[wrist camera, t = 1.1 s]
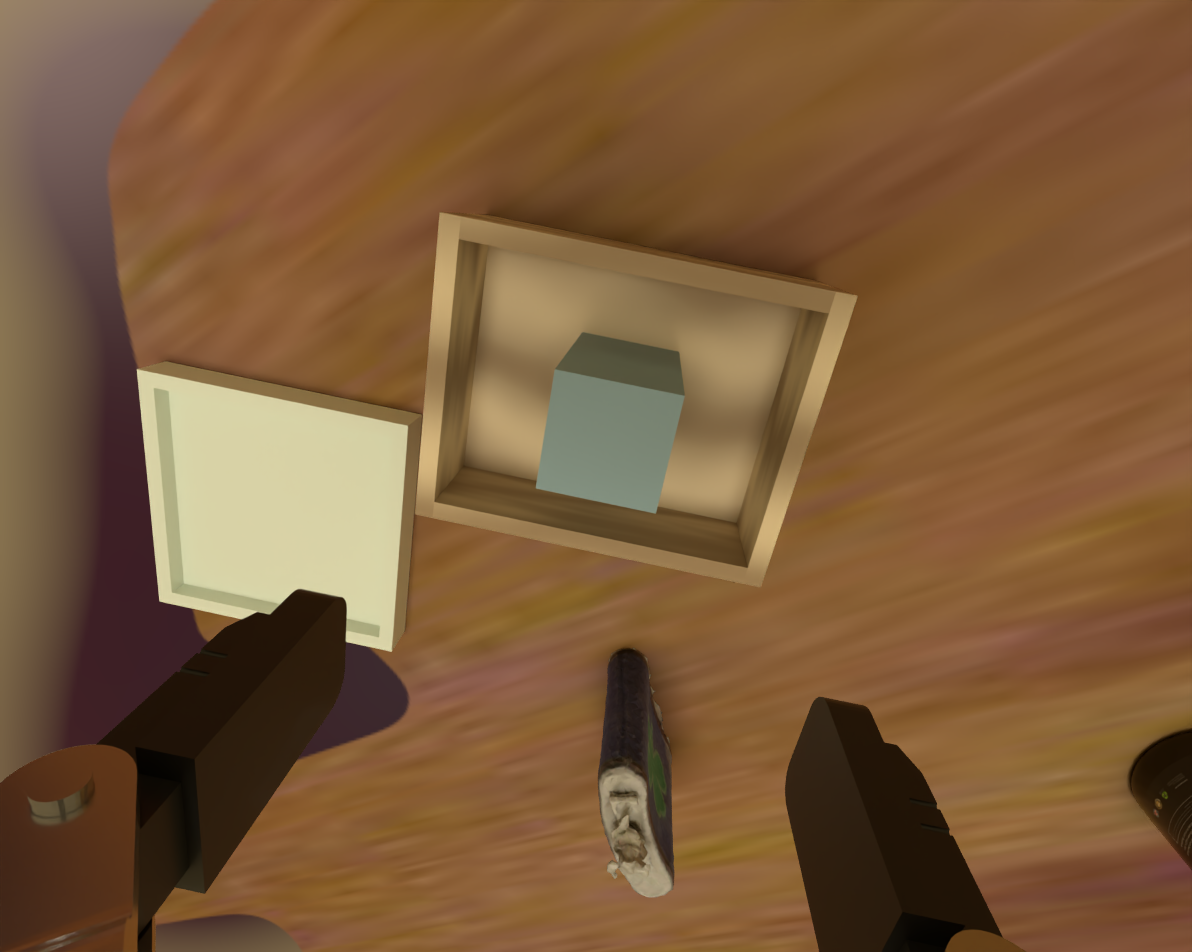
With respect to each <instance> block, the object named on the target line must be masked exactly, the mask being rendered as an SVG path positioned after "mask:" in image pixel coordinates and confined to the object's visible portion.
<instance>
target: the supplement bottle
mask: <svg viewBox="0 0 1192 952" xmlns="http://www.w3.org/2000/svg"><path fill="white" fill-rule="evenodd" d="M1131 787H1132V792H1133V795H1134V797H1135V799H1136V801H1137V803H1138V804H1139V806H1140V807H1141V808H1142V810H1143V811H1144V812H1145V813H1146V815H1147V816H1148V817H1149V818H1150V820H1151V821H1152V822H1153V824H1154V825H1155V826H1156V827H1157V828H1158V830H1159V831H1160V832H1161V833H1162V835H1163V836H1164V837H1165V838H1166V839H1167V841H1168V842H1169V843H1170V844H1171V846H1172V847H1173V848H1174V849H1175V850H1176V852H1177V853H1178V854H1179V855H1180V857H1181V858H1182V859H1183V860H1184V861H1185V863H1186V864H1187V865H1188V866H1189V868H1190V869H1191V870H1192V732H1187V733H1183V734H1179V735H1176V736H1173V737H1170V738H1168V739H1166V740H1164V741H1162V742H1160V743H1158V744H1156V745H1155V746H1153V747H1152V748H1151V749H1149V750H1148V751H1147V752H1146V753H1145V754H1144V755H1143V756H1142V757H1141V758H1140V760H1139V761H1138V762H1137V764H1136V766H1135V768H1134V770H1133V774H1132V779H1131Z"/></svg>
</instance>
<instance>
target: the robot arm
mask: <svg viewBox="0 0 1192 952" xmlns="http://www.w3.org/2000/svg"><path fill="white" fill-rule="evenodd" d="M346 622H347V604H346V601H345V599H344V598H343V597H338V596H333V595H328V594H323V593H319V592H314V591H309V590H304V589H297V590H295V591H294V592H292V593H291V594H290V595H289V596H288V597H287V598H286V599H285V600H284V601H283V602H282V603H281V604H280V605H279V606H278V607H277V608H276V609H275V610H274V611H273V612H272V613H271V614H265V613H260V612H256V613H254V614H252V615H250V616H248V617H246V618H244V619H242V620H239V621H237V622H235V623H233V624H231V625H229V626H227V627H225V628H224V629H223V630H222V631H221V632H220V633H218V634H217V635H216V636H215V637H214V638H213V639H212V640H211V641H210V642H208V643H207V644H206V645H205V646H204V647H203V648H202V650H201V652H200V654H198V653H197V654H195V655H194V656H193V657H192V658H191V659H190V660H189V661H188V662H186V663H185V664H184V665H183V666H182V667H181V671H180V672H175V673H174V674H173V675H172V676H171V677H170V678H169V679H168V680H167V681H166V682H164V683H163V684H162V685H161V686H160V687H159V688H158V689H157V690H156V691H155V692H153V693H152V694H151V695H150V696H149V697H148V698H147V699H146V700H145V701H144V702H142V704H140V705H139V706H138V707H137V708H136V709H135V710H134V711H133V712H131V713H130V714H129V715H128V716H127V717H126V718H125V719H124V720H123V721H121V722H120V723H119V724H118V725H117V726H116V727H115V728H114V729H113V730H112V731H110V732H109V733H108V734H107V735H106V736H105V737H104V738H103V739H102V740H100V741H99V742H98V743H97V744H96V745H81V746H76V747H70V748H66V749H62V750H59V751H55V752H53V753H50V754H47V755H44V756H42V757H40V758H38V759H36V760H33V761H31V762H29V763H28V764H26V765H24V766H22V767H21V768H19V769H17V770H16V771H15V772H13V773H12V774H10V775H9V776H8V777H6V778H5V779H4V780H3V781H2V782H1V783H0V952H155V940H156V936H155V935H156V934H155V932H156V931H155V930H156V929H155V927H156V923H155V915H154V914H155V913H156V912H157V910H158V909H159V908H160V906H161V905H162V904H163V902H164V901H165V900H166V898H167V897H168V895H169V894H170V893H171V891H172V890H173V889H174V887H176V888H181V889H186V890H190V891H195V892H200V893H204V894H205V893H206V891H207V890H208V888H209V887H210V886H211V884H212V883H213V881H214V880H215V878H216V877H217V875H218V874H219V872H220V871H221V870H222V868H223V867H224V865H225V864H226V862H227V861H228V859H229V858H230V856H231V855H232V853H233V852H234V851H235V849H236V848H237V846H238V845H239V843H240V842H241V840H242V839H243V837H244V836H245V835H246V833H247V832H248V830H249V829H250V827H251V826H252V824H253V823H254V821H255V820H256V819H257V817H258V816H259V814H260V813H261V811H262V810H263V808H264V807H265V805H266V804H267V803H268V801H269V800H270V798H271V797H272V795H273V794H274V792H275V791H276V789H277V788H278V787H279V785H280V784H281V782H282V781H283V779H284V778H285V776H286V775H287V773H288V772H289V771H290V769H291V768H292V766H293V765H294V763H295V762H296V760H297V759H298V757H299V755H301V753H302V752H303V750H304V749H305V747H306V746H307V744H308V743H309V741H310V740H311V739H312V737H313V736H314V734H315V733H316V731H317V730H318V728H319V727H320V725H321V724H322V723H323V721H324V720H325V718H326V717H327V715H328V714H329V712H330V711H331V709H332V708H333V706H334V704H335V702H336V699H337V698H338V695H339V693H340V690H341V686H342V683H343V679H344V672H345V648H346ZM785 797H786V806H787V810H788V815H789V819H790V824H791V828H792V833H793V837H794V841H795V846H796V850H797V855H798V859H799V864H800V868H801V872H802V877H803V881H804V886H805V890H806V895H807V899H808V903H809V908H810V912H811V917H812V921H813V926H814V930H815V934H816V939H817V943H818V948H819V952H1026V951H1024V950H1023V949H1021V948H1020V947H1018V946H1017V945H1015V944H1014V943H1012V942H1010V941H1008V940H1006V939H1004V938H1003V937H1002V935H1001V933H1000V931H999V929H998V927H997V925H996V922H995V920H994V918H993V916H992V914H991V912H990V910H989V908H988V906H987V904H986V902H985V900H984V898H983V896H982V894H981V892H980V890H979V888H978V886H977V884H976V882H975V880H974V878H973V876H972V874H971V872H970V870H969V868H968V866H967V863H966V861H965V859H964V857H963V855H962V853H961V851H960V849H959V847H958V845H957V843H956V841H955V839H954V837H953V836H951V835H950V834H949V830H950V829H949V827H948V825H947V823H946V821H945V819H944V817H943V815H942V813H941V811H940V810H939V809H937V802H936V800H935V798H934V796H933V794H932V792H931V790H930V788H929V786H928V784H927V782H926V780H925V778H924V776H923V774H922V773H921V772H920V770H919V769H918V768H917V767H916V766H915V765H914V764H913V763H912V762H911V760H910V759H909V758H908V757H907V756H906V755H905V754H904V753H903V751H902V750H901V749H900V748H899V747H898V746H897V745H894V744H889V743H884V741H883V739H882V737H881V734H880V732H879V730H878V728H877V725H876V723H875V721H874V719H873V716H872V714H871V712H870V710H869V709H868V708H867V707H866V706H863V705H858V704H853V703H849V702H844V701H839V700H834V699H829V698H824V697H818V698H816V699H815V700H814V702H813V704H812V706H811V708H810V711H809V713H808V716H807V719H806V721H805V724H804V726H803V729H802V732H801V734H800V737H799V739H798V742H797V745H796V747H795V750H794V753H793V755H792V758H791V760H790V763H789V766H788V770H787V775H786V785H785Z"/></svg>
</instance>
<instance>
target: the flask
mask: <svg viewBox="0 0 1192 952" xmlns="http://www.w3.org/2000/svg"><path fill="white" fill-rule="evenodd" d="M650 676H651V675H650V673H649V666H648V663H647V658H646V657H645V656H644V655H643V654H642V653H640V652H639V651H637V650H636V649H635V648H632V649H631V648H630V649H621V650H620V649H619V650H617V651H615V652H614V653H612V654H611V657H610V658H609V665H608V685H607V697H606V709H605V718H604V726H603V739H602V749H601V758H600V765H599V771H598V790H599V801H600V814H601V818H602V824H603V826H604V829H605V835H606V837H607V840H608V843H609V845H610V848H611V850H612V852H613V854H614V857H615V859H616V861H617V862H618V863H616V862H614V861H613V860H611V861H610V862H609V863H608V865H607V871H608V872H609V873H611V874H612V876H613V877H614V879H615V878H616V877H617V874H616V873H615V871H616V869H617V868H619V870H620V871H621V872H622V873H623V874H624V875H625V877H626V879H627V880H628V882H629V883H630V884H631V886H632V888H633V889H634V890H635V891H636V892H637V893H638V894H640V895H643V896H646V897H659V896H661V895H666V894H667V893H668V892H669V891H671V890H673V885H674V865H673V861H674V855H673V835H672V797H671V787H672V781H671V778H672V775H671V763H672V755H671V751H670V746H669V742H670V741H669V738H668V737H667V738H666V736H665V734H664V730H663V727H662V721H663V719H662V716H661V714H662V712H661V711H660V707H659V706H658V704H656V702H655V701H654V700H653V696H652V694H653V693H654V692H655V691H654V690H653V688H652V687H651V686H650V683H649V680H650Z"/></svg>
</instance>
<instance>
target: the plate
mask: <svg viewBox="0 0 1192 952" xmlns="http://www.w3.org/2000/svg"><path fill="white" fill-rule="evenodd" d="M137 375H138V384H139V385H138V386H139V395H140V405H141V416H142V427H143V436H144V446H145V457H146V467H147V477H148V487H149V498H150V508H151V518H152V529H153V539H154V549H155V559H156V570H157V579H158V589H159V600H160V602H165V603H170V604H174V605H179V606H184V607H189V608H193V609H197V610H202V611H207V612H211V613H216V614H220V615H225V616H230V617H234V618H239V619H244V618H246V617H248V616H250V615H252V614H254V613H256V612H260V613H265V614H271V613H272V612H273V611H274V610H275V609H276V608H277V607H278V606H279V605H280V604H281V603H282V602H283V601H284V600H285V599H286V598H287V597H288V596H289V595H290V594H291V593H292V592H294V591H295V590H297V589H304V590H309V591H314V592H319V593H323V594H328V595H333V596H338V597H343V598H344V599H345V601H346V604H347V622H346V642H350V643H354V644H359V645H364V646H368V647H373V648H377V649H382V650H387V651H391V652H392V650H393V649H394V647H395V646H396V644H397V643H398V641H399V639H400V638H401V636H402V635H403V633H404V631H405V622H406V609H407V597H408V585H409V572H410V560H411V548H412V535H413V523H414V511H415V498H416V486H417V474H418V461H419V449H420V437H421V424H422V415H421V414H417V413H412V412H407V411H402V410H397V409H393V408H388V407H383V406H378V405H373V404H369V403H364V402H359V401H354V400H349V399H345V398H340V397H335V396H330V395H325V394H321V393H316V392H311V391H306V390H301V389H296V388H292V387H287V386H282V385H277V384H272V383H268V382H263V381H258V380H253V379H248V378H244V377H239V376H234V375H229V374H224V373H220V372H215V371H210V370H205V369H200V368H196V367H191V366H186V365H181V364H176V363H172V362H167V361H165V362H162V363H158V364H154V365H151V366H147V367H143V368H140V369H137Z"/></svg>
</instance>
